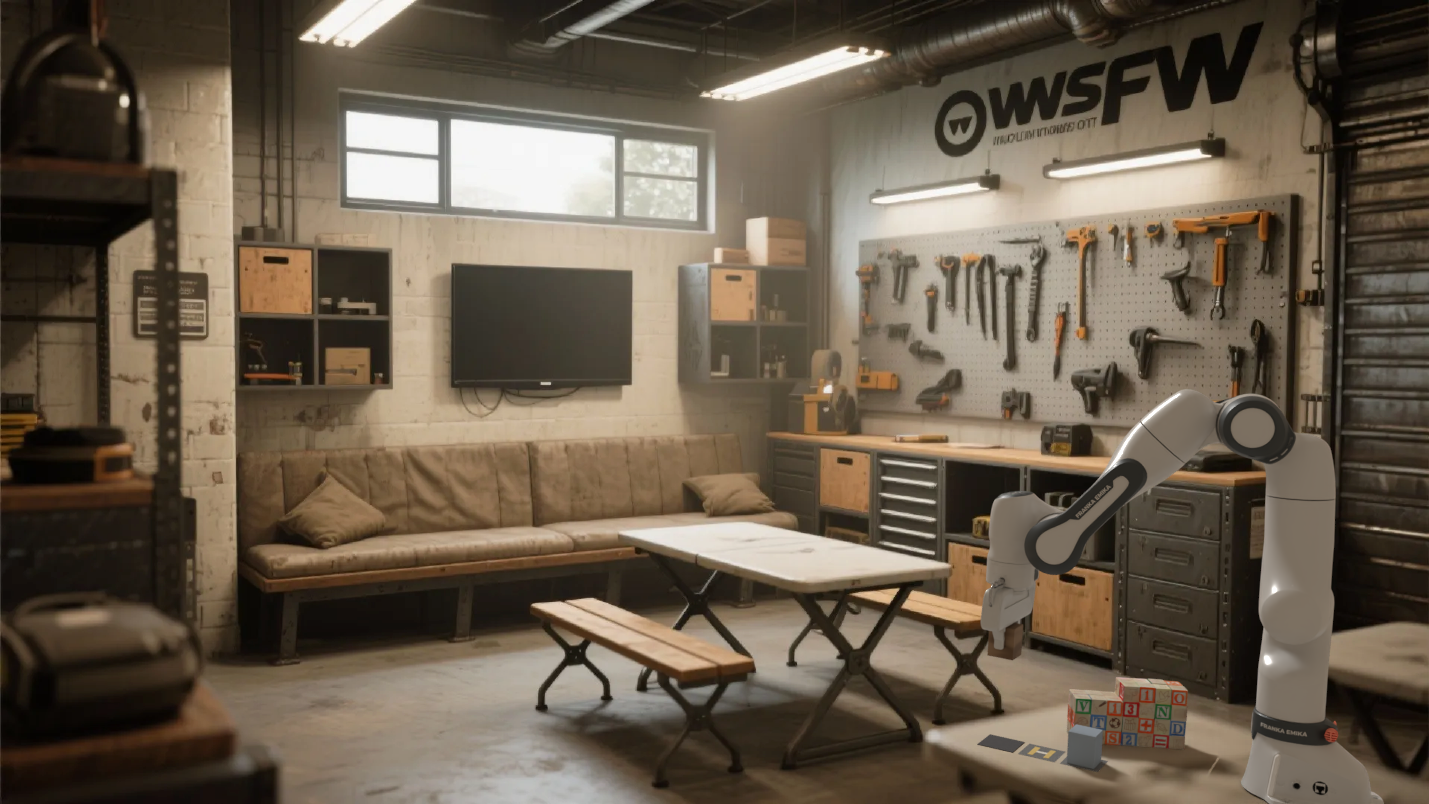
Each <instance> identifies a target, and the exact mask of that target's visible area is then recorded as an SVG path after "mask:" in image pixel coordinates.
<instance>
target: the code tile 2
mask: <svg viewBox="0 0 1429 804" xmlns="http://www.w3.org/2000/svg"><path fill="white" fill-rule="evenodd" d="M1107 763H1108V760H1105V759H1101V762H1100V763H1099V764H1098V765H1097V766H1096V767H1095V768H1094V769H1091V768H1087V767H1082V766H1078V765H1074V764H1069V763H1067V756H1066V757H1065V758H1063V760H1062V761H1060V763H1059V764H1060V765H1065V766H1069V767H1072V768H1073V767H1074V768H1079V769H1082V770H1085V771H1086V770H1087V771H1091V772H1095V773H1099V772H1100V771H1101V769H1103V767H1104V766H1105V765H1106V764H1107Z"/></svg>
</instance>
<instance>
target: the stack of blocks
mask: <svg viewBox="0 0 1429 804" xmlns="http://www.w3.org/2000/svg"><path fill="white" fill-rule="evenodd" d="M1188 696H1189V690H1188V689H1187V687H1185V686H1183V684H1182V683H1181V682H1180V681H1175V680H1163V679H1161V678H1157V679H1156V678H1135V677H1133V678H1131V677H1119V676H1117V677H1115V686H1114V691H1107V690H1106V691H1104V690H1102V691H1101V690H1090V689H1089V690H1088V689H1074V688H1073V689H1072V688H1071V689H1070V688H1069V690H1068V701H1067V702H1068V704H1067V715H1066V717H1067V721H1066V733H1067V734H1068V731H1069V730H1070V729H1072V728H1073V727H1074V726H1075V725H1076V724H1077V725H1082V726H1087V727H1091V728H1096V729H1101V730H1103V738H1102V745H1110V746H1112V745H1113V746H1128V747H1129V746H1131V747H1144V748H1157V749H1158V748H1159V749H1170V750H1171V749H1172V750H1185V746H1186V744H1185V743H1186V741H1185V740H1186V730H1187V729H1186V727H1187V720H1188Z"/></svg>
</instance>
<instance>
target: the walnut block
mask: <svg viewBox="0 0 1429 804" xmlns="http://www.w3.org/2000/svg"><path fill="white" fill-rule="evenodd" d="M1023 633H1024V624H1023V623H1020V624H1018V623H1013V624H1011V625H1009V626H1008V627H1006V628H1005V632H1004V638H1005V639H1006V644H1005V648H1004V649H1002V650H1000V649H995V648H994V637H993V633H992V631H988V641H987V642H988V643H987V656H990V657H994V658H997V659H998V658H1000V659H1005V660H1009V661H1014V660H1016V659H1017V658H1019V657H1020V656H1022V652H1023V651H1022V649H1023V648H1022V647H1023V637H1024V636H1023Z"/></svg>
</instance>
